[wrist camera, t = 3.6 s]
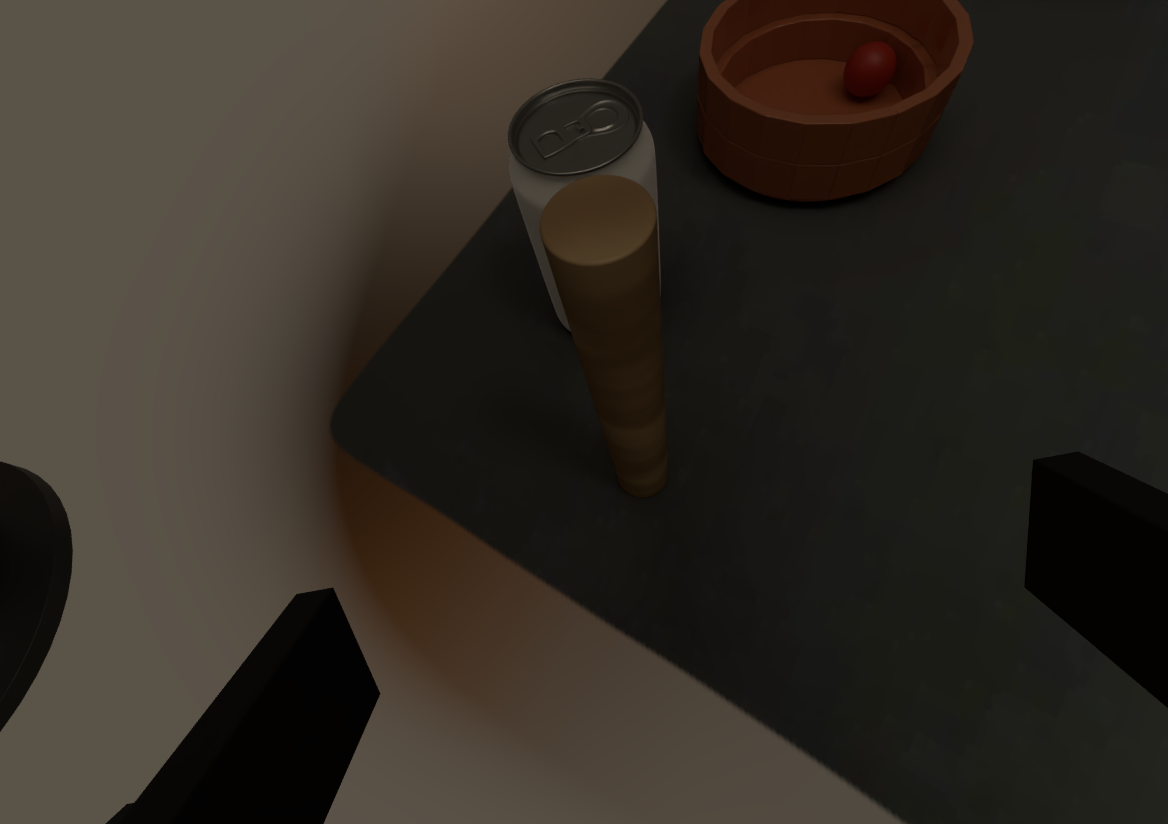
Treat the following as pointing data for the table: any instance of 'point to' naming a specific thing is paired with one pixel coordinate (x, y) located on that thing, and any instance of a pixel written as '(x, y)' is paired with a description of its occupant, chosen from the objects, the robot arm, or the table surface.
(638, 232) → the stick
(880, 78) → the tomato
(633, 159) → the can
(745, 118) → the stir bowl
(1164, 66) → the table surface
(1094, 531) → the robot arm
